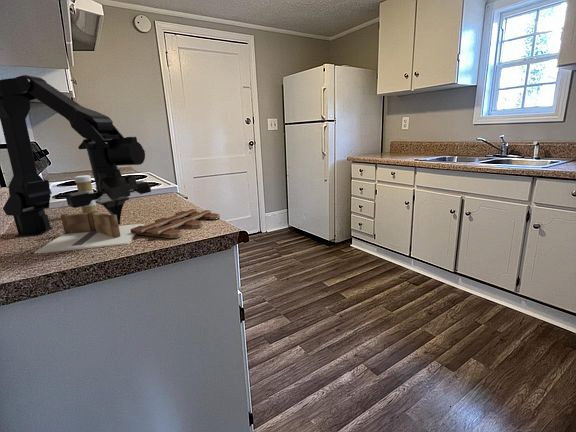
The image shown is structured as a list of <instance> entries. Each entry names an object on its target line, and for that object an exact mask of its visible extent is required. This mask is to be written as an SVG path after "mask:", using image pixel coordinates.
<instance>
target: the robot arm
mask: <svg viewBox="0 0 576 432" xmlns="http://www.w3.org/2000/svg"><path fill="white" fill-rule="evenodd" d="M35 100H38V102H39V101H40V102H41V103H42V104H43V105H45V106H47V107H48V108H50V109H51V110H53V112H54V111H55V112H56V114H59V115H60V116H61V117H63V118H64V119H66V121H68V122H69V124H70V127H71V128H72V129H73V130H74V131H75V132H76V133H77V134H78V135H80V136H81V138H83V140H82V142H81V143H80V144H79V145H78V146H77V147H78V150H86V151H87V156H88V161H89V163H90V167H91V175H92V176H93V179H94V183H95V190H96V191H93V192H94V193H87V192H85V191H81V192H78V191H76V192H71V193H67V194H66V197H65V200H66V202H67V205H68V206H69V207H70V208H73V209H77V208H82V206H87V205H89V204H90V203H91V201H92V200H95V202H96V204H98V205H100V206H103V207H104V208H105V209H106V211H108V213H109V214H110V215H114V214H116V215H117V220H118V225H119V226H120V225H121V217H122V212H123V207H124V204H125V203H126V202H127V201H130V196H131V193H135V192H136V193H138V194H139V195H143V194H149V193H152V187H151V184H150V183H148V182H147V181H144V180H137V178H136V176H135V175H133V174H132V175H131V174H129V175H126V176H124V177H123V175H122V173H121V171H120V169H119V166H120V167H121V166H122V167H123V166H139V165H142V164H144V161H145V159H146V151H145V149H144V148H143V146H142V144H141V143H140V142H139V141H138V138H137V136H126V137H124V135H123V134H122V133H121V132H120V131H119V129H118V128H116V126H115V125H114V124H113V120H112V119H111V118H110V117H109V116H107V115H105V114H103V113H101V112H98V111H96V110H93V109H91V108H87V107H84V106H82V105H81V104H79V103H77V102H76V101H75V100H73V99H72V98H71V97H68V96H67V95H66V94H64V93H63V92H61V91H60V90H59V89H57V88H55V87H54V86H53V85H51V84H49V83H48V82H47V81H46V80H45V79H43V78H42V77H38V76H33V75H28V74H23V75H19V76H17V77H12V78H11V77H10V78H4V79H0V124H1V129H2V132H3V137H4V141H5V145H6V150H7V153H8V158H9V162H10V166H11V167H10V168H11V169H12V174H13V175H12V178H11V181H9V185H8V194H9V195H8V198H7V200H6V202H5V204H4V205H3V207H2V211H4V214H5V215H6V216H12V217H13V221H14V224H15V227H16V231H17V233H16V234H14V237H27V236H28V237H29V236H38V235H42V234H44V233H46V232H48V231H49V230H52V229H53V226H51V223H50V219H49V216H48V214H46V212H45V209H50V200H51V195H52V194H53V193H52V191H51V188H50V181H49V180H48V179H43V178H42V177H41V176H40V174H38V169H37V166H36V161H35V157H34V152H33V147H32V142H31V139H30V138H31V137H30V134H29V130H28V128H29V127H28V123H27V117H28V115H29V113H30V111H31V102H32V101H35Z"/></svg>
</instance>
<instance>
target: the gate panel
mask: <svg viewBox="0 0 576 432" xmlns="http://www.w3.org/2000/svg"><path fill="white" fill-rule="evenodd" d="M93 219H94V224H95V228H96V231H97V232H100V233H103V234H106V235H109V236H112V237H119V236H121V235H120V230H119V226H120V224H119V225H118V220H117V215H116V214H114V215H111V214H110V215H109V214H106V213H102V212H99V211H98V213H93Z"/></svg>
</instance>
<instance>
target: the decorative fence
mask: <svg viewBox="0 0 576 432" xmlns="http://www.w3.org/2000/svg"><path fill="white" fill-rule="evenodd" d="M216 218H217V219H218V218H219V219H220V218H221V215H220V214H219V213H214V212H212V210H210V209H209V210H208V209H205V210H202V211H198V209H195V208H192V209H189V210H181V211H178V212H176V213H175V214H174V215H171V216H169V217H160V218H159V219H155V220H154V222H152V223H150V224H147V225H144V226H138V227H135V228H132V229H130V230H131V233H133V234H136V235H141V236H142V235H143V236H151V237H158V238H165V239H166V238H167V239H168V238H169V239H174V238H176V239H177V238H181V237H183V232H182V230H180V229H176V228H187V229H188V228H189V229H198V228H202V227H203V226H204V224H203V222H202V221H200V220H206V219H216ZM219 219H218V220H219ZM161 226H162V227H161Z"/></svg>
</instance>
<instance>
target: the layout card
mask: <svg viewBox="0 0 576 432" xmlns="http://www.w3.org/2000/svg"><path fill="white" fill-rule="evenodd" d="M138 226H145V223H138V224H137V223H135V224H128V225H119V230H120V235H121V236H119V237H112V236H109V235H106V234H103V233H100V232H97V231H87V232H76V233H65V232H63V233H62V234H61V235H60V236H58V237H56V238H55V239H53V240H52V241H50V242H48V243H47V244H45V245H43V246H42V247H40V248H38V249H37V250H36V251H35V252H34V254H35V255H36V254H37V253H38V254H46V253H56V252H65V251H67V252H68V251H74V250H75V251H76V250H84V249H95V248H97V249H98V248H105V247H106V248H107V247H115V246H125V245H129V244H130V243H131V241H132V240H133V239H134V238H135V237H136V236H137V234H133V233H131V230H130V229H132V228H135V227H138Z"/></svg>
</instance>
